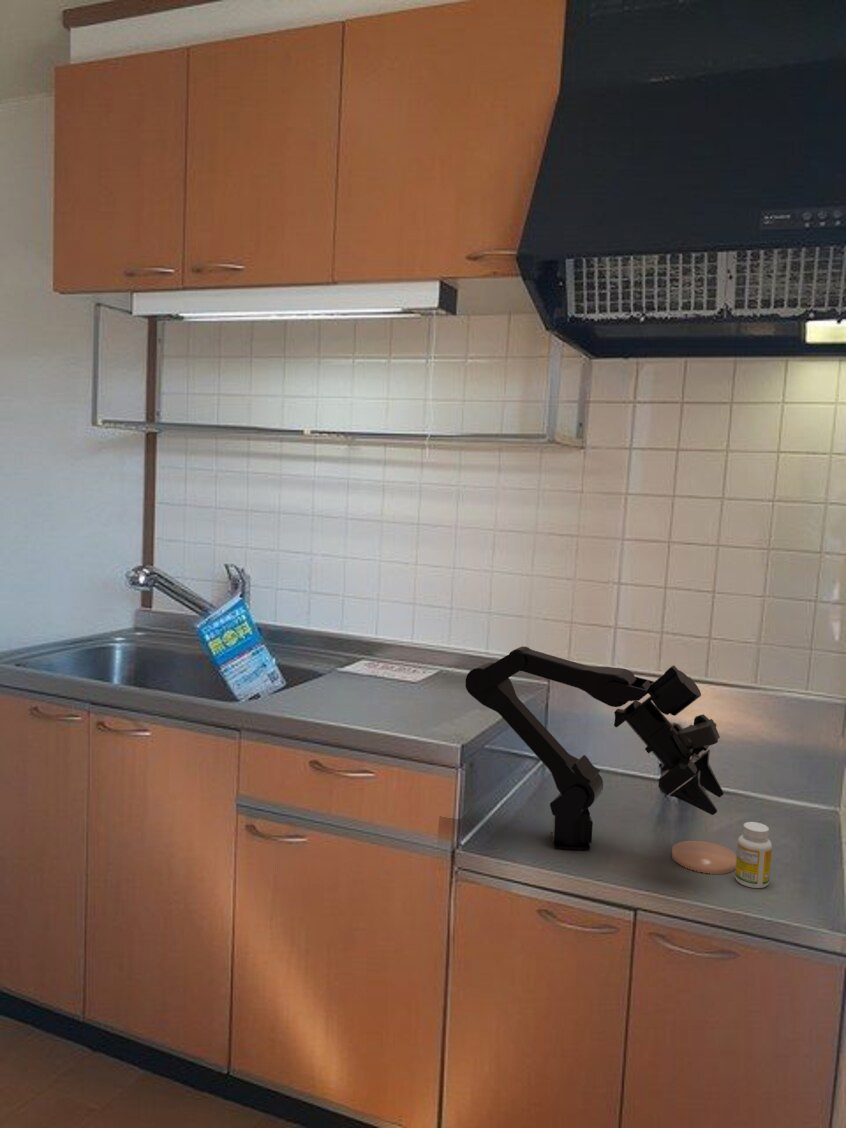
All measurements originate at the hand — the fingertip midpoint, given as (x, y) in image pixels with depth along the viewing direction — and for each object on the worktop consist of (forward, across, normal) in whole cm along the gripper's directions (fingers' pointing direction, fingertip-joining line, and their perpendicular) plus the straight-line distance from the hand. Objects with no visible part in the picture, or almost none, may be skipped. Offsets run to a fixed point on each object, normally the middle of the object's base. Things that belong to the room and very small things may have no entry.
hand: (718, 804), depth 149 cm
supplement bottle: (+13, 0, +4) cm, 14 cm away
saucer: (+7, +5, +10) cm, 13 cm away
